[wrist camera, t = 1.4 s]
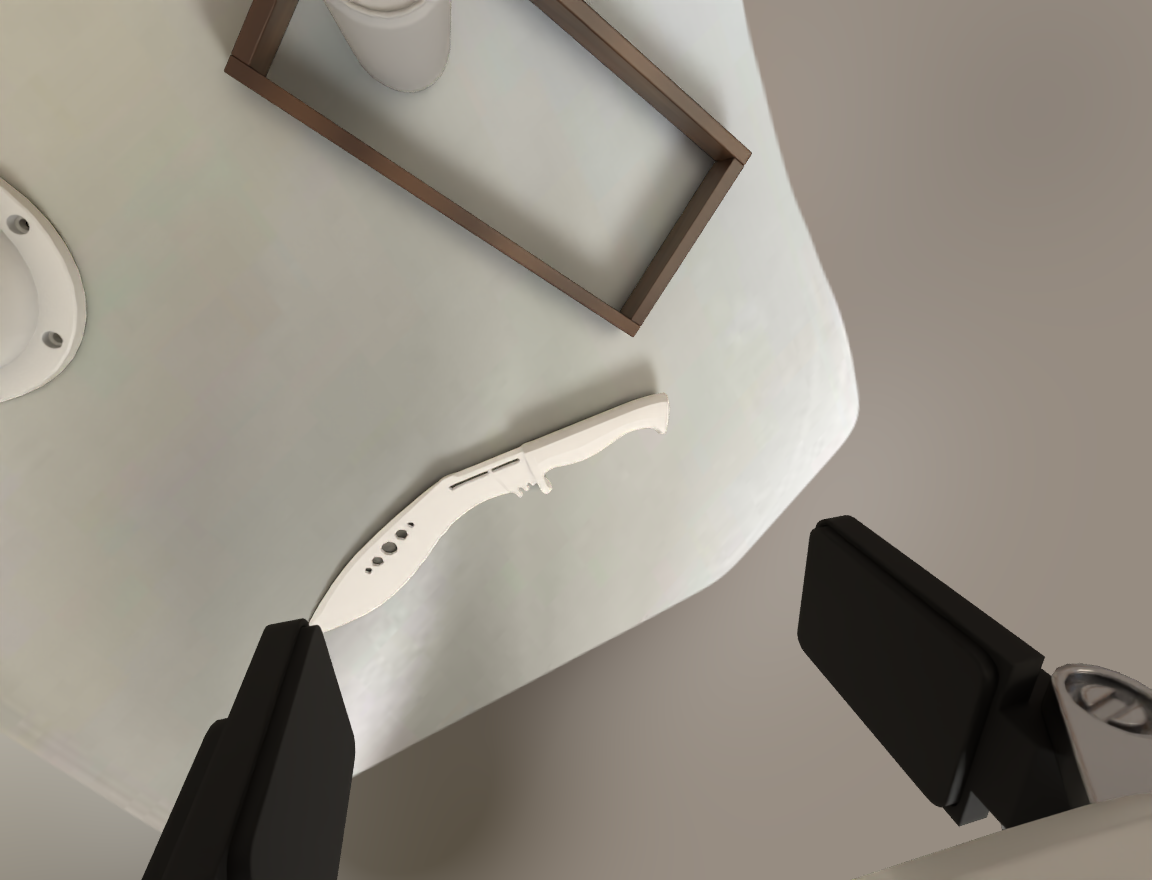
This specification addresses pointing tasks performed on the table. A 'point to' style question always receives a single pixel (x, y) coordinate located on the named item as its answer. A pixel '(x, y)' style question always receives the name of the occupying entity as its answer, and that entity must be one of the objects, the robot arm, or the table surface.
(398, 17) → the beverage can
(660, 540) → the table surface
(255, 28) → the walnut frame
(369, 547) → the knife
